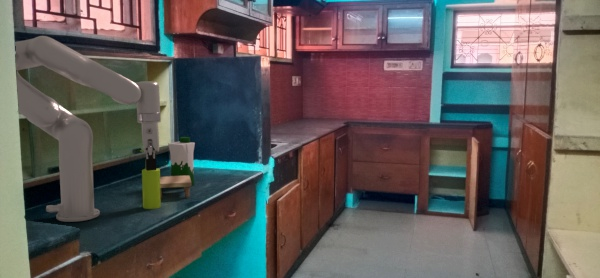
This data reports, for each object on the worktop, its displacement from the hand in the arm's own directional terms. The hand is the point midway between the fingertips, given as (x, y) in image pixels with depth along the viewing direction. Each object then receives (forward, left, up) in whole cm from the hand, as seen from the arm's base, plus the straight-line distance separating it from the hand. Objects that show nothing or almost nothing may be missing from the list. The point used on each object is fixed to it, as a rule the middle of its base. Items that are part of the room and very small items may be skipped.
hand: (151, 167), depth 164 cm
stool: (+7, +15, -14) cm, 22 cm away
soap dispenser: (-1, 0, -14) cm, 14 cm away
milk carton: (+11, +30, -14) cm, 35 cm away
